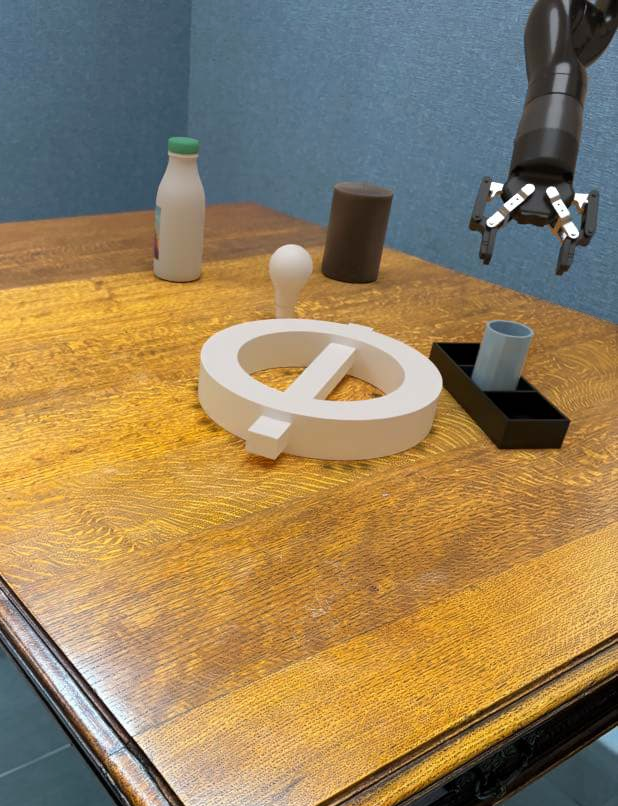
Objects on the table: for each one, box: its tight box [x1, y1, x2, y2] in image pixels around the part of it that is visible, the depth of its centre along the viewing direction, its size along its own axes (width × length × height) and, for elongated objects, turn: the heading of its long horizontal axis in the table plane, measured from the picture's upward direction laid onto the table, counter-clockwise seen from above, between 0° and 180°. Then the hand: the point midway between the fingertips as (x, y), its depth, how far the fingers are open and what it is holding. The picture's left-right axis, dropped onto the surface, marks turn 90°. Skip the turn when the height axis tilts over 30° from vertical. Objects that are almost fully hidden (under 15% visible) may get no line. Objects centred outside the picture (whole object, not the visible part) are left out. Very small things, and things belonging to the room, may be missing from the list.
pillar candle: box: [320, 179, 394, 284], centre depth 134 cm, size 10×10×15 cm
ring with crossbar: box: [197, 318, 443, 461], centre depth 96 cm, size 28×28×5 cm
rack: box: [428, 341, 572, 450], centre depth 99 cm, size 8×22×4 cm, turn 9°
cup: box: [471, 319, 535, 391], centre depth 97 cm, size 5×5×9 cm
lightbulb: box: [268, 243, 314, 319], centre depth 114 cm, size 6×6×11 cm
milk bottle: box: [152, 136, 206, 283], centre depth 125 cm, size 8×8×20 cm
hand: (523, 267), depth 97 cm, fingers open, 8 cm apart
